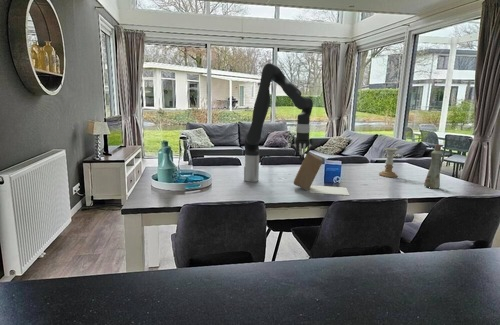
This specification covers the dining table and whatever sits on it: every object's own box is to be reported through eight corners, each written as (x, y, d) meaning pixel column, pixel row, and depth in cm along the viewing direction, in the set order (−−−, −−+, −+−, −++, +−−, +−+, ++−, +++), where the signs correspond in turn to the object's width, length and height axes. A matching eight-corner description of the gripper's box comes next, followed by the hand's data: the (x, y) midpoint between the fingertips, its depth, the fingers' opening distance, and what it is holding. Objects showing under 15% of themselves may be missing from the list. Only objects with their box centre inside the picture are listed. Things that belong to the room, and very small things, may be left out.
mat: (310, 192, 188) (310, 192, 188) (309, 185, 204) (310, 185, 204) (349, 195, 185) (349, 194, 185) (346, 188, 200) (346, 187, 200)
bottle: (431, 189, 202) (437, 145, 196) (420, 186, 210) (426, 143, 205) (443, 189, 204) (449, 145, 199) (431, 185, 213) (437, 143, 207)
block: (308, 191, 191) (323, 161, 186) (292, 184, 192) (307, 154, 187) (308, 187, 201) (322, 158, 196) (293, 180, 202) (307, 151, 197)
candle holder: (387, 173, 245) (390, 146, 242) (400, 176, 235) (404, 149, 231) (375, 174, 240) (378, 147, 236) (388, 178, 229) (391, 150, 225)
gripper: (291, 132, 188) (290, 161, 191) (314, 132, 186) (313, 162, 189) (291, 130, 195) (290, 159, 198) (314, 131, 193) (312, 160, 196)
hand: (301, 160), depth 194 cm, fingers closed
